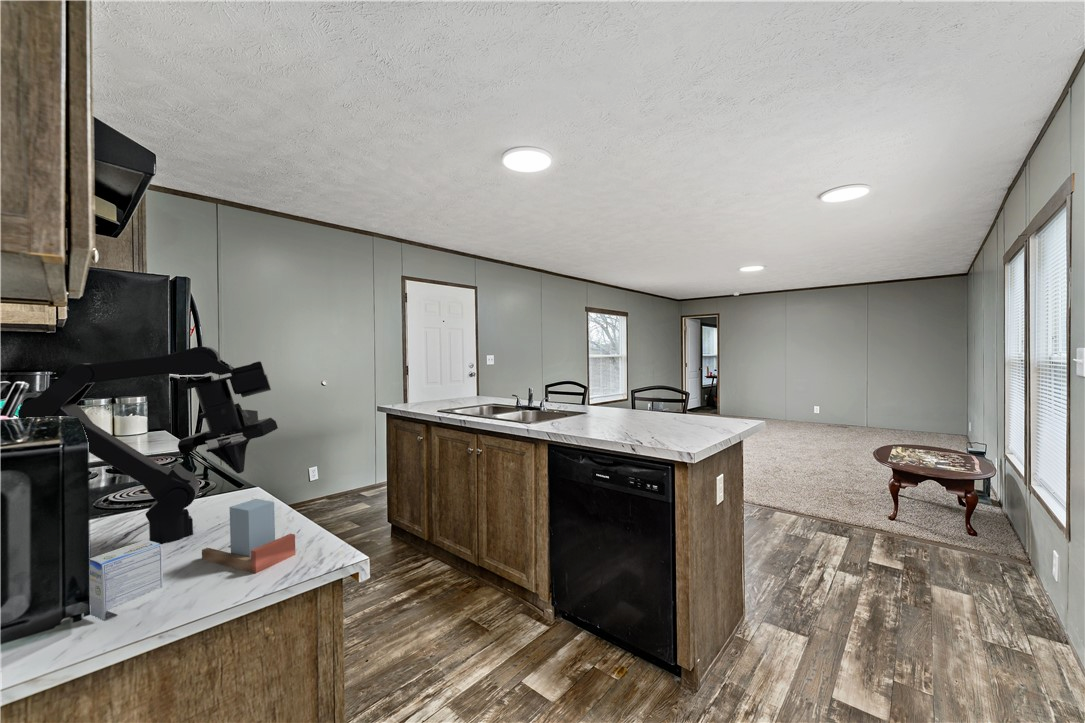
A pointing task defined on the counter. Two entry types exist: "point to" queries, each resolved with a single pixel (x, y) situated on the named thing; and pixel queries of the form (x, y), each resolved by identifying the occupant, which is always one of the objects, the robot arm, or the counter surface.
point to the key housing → (255, 555)
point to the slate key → (251, 526)
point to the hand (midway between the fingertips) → (240, 472)
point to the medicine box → (124, 576)
